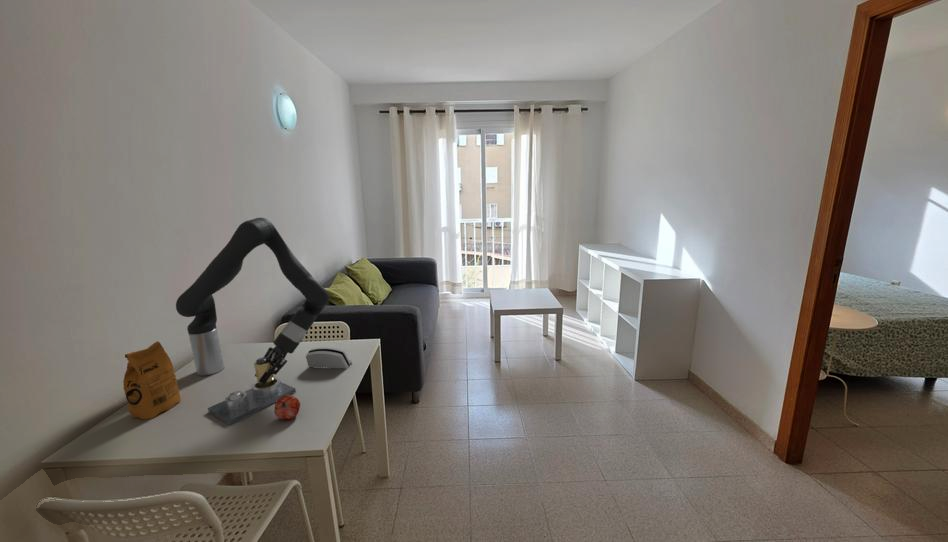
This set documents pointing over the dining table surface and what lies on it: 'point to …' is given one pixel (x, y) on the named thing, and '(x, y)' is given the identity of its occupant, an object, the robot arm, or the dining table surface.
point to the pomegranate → (287, 407)
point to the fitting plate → (249, 401)
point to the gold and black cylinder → (260, 369)
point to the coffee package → (150, 382)
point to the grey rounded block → (327, 358)
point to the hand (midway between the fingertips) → (259, 379)
